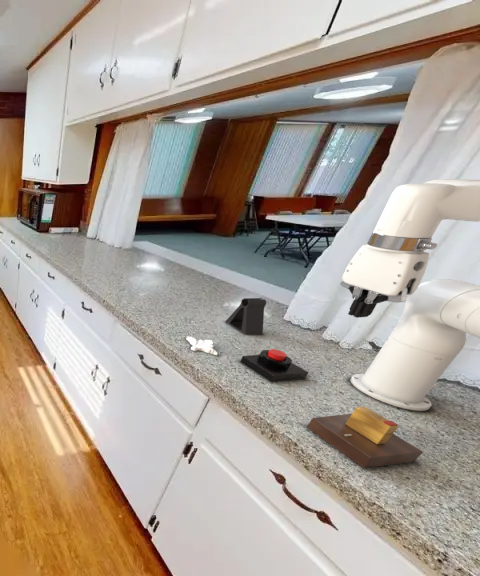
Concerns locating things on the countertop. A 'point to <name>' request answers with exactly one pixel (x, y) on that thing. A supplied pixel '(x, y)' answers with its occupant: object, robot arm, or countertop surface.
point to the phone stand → (248, 316)
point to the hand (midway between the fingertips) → (357, 315)
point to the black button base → (273, 367)
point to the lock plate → (362, 443)
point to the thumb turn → (371, 425)
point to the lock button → (277, 354)
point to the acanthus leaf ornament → (202, 345)
